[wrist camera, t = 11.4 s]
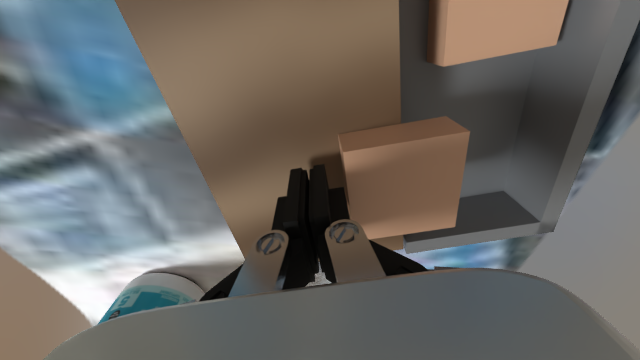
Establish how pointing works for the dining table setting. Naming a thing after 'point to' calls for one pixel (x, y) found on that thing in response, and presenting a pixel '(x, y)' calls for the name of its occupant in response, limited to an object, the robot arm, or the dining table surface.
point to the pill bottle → (153, 294)
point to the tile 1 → (404, 176)
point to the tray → (516, 117)
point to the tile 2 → (490, 28)
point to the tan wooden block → (270, 90)
